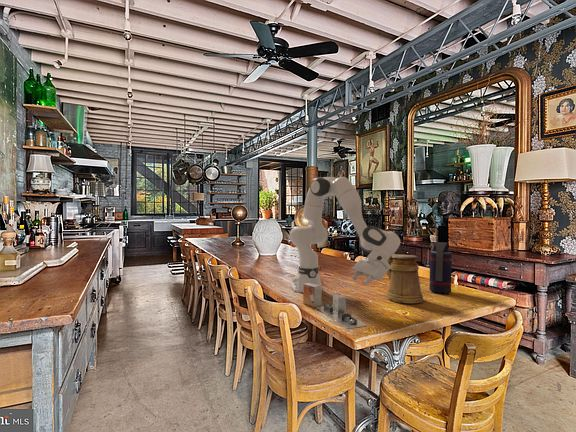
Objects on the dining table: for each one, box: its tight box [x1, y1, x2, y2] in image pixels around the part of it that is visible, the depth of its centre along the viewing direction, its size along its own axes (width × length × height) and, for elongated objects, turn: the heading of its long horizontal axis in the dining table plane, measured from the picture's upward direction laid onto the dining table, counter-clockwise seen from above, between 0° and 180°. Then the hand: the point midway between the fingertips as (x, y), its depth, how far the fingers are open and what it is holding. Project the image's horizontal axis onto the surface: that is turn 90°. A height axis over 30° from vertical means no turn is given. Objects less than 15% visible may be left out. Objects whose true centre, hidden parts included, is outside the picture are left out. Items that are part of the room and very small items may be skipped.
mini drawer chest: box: [332, 294, 347, 318], centre depth 154 cm, size 5×4×9 cm
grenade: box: [428, 241, 453, 295], centre depth 197 cm, size 14×12×30 cm
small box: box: [302, 283, 323, 308], centre depth 172 cm, size 8×6×10 cm
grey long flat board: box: [315, 303, 368, 330], centre depth 154 cm, size 30×10×4 cm, turn 21°
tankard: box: [386, 253, 424, 304], centre depth 183 cm, size 18×24×25 cm
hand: (358, 281), depth 157 cm, fingers open, 8 cm apart
